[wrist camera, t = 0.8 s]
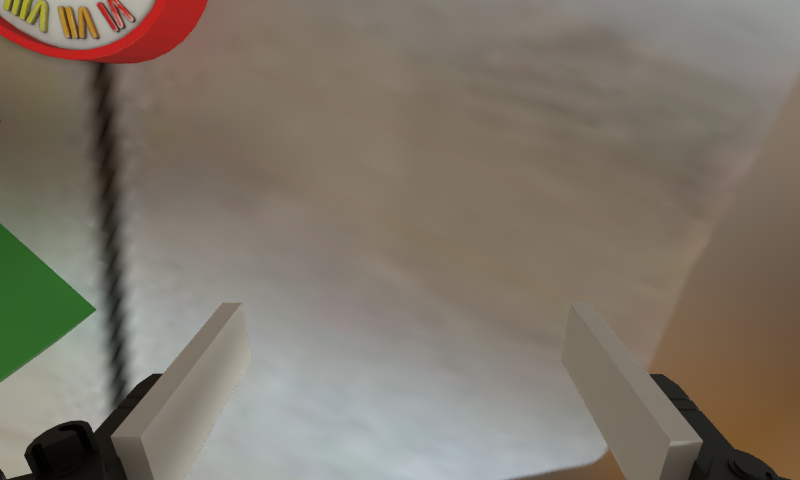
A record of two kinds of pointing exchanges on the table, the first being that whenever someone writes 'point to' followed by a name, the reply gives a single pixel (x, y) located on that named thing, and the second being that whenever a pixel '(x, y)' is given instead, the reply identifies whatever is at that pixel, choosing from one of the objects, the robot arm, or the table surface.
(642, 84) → the table surface
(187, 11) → the toy clock
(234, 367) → the robot arm
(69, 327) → the hardback book
